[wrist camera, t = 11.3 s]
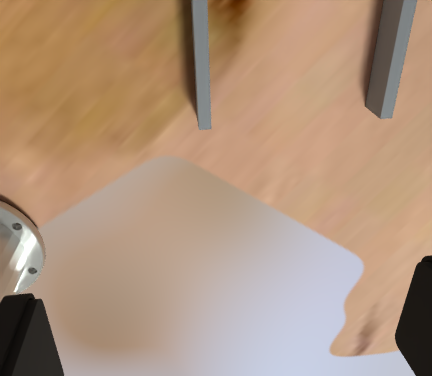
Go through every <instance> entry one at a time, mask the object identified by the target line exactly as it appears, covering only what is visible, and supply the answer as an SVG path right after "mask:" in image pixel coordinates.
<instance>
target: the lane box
mask: <svg viewBox="0 0 432 376" xmlns="http://www.w3.org/2000/svg"><path fill="white" fill-rule="evenodd" d="M416 3H417V0H384V2H383V8H382V13H381V19H380V25H379V30H378V36H377V42H376V48H375V53H374V59H373V65H372V71H371V76H370V82H369V88H368V93H367V99H366V105H365V107H366V108H368V109H369V110H370V111H371V112H373V113H374V114H375V115H376V116H377V117H379V118H380V119H386V118H392V116H393V111H394V106H395V101H396V97H397V92H398V87H399V83H400V78H401V73H402V69H403V64H404V59H405V55H406V50H407V45H408V41H409V36H410V31H411V27H412V22H413V17H414V13H415V8H416ZM191 14H192V33H193V52H194V72H195V91H196V110H197V121H198V127H199V130H206V129H211V102H210V72H209V42H208V12H207V0H191Z"/></svg>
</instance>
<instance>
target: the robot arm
mask: <svg viewBox="0 0 432 376" xmlns="http://www.w3.org/2000/svg"><path fill="white" fill-rule="evenodd" d="M45 257H46V255H45V246H44V242H43V239H42V237H41V235H40V233H39V231H38V230H37V228H36V227H35V226H34V225H33V223H32V222H31V221H30V220H29V219H28V218H27V217H26V216H25V215H23V214H22V213H21V212H20V211H18V210H17V209H15V208H13V207H12V206H10V205H8V204H7V203H4V202H2V201H0V376H64V373H63V369H62V365H61V362H60V359H59V355H58V351H57V348H56V345H55V342H54V338H53V335H52V331H51V328H50V324H49V321H48V317H47V314H46V310H45V307H44V304H43V301H42V299H35V297H34V295H33V294H32V293H29V294H19V293H21V292H23V291H24V290H26V289H28V288H29V287H30V286H31V285H32V284H33V283H34V282H35V281H36V280H37V278H38V277H39V275H40V273H41V271H42V268H43V266H44V262H45ZM16 294H18V295H16ZM395 340H396V344H397V346H398V348H399V350H400V351H401V353H402V355H403V356H404V358H405V359H406V361H407V362H408V364H409V366H410V367H411V369H412V370H413V371H414V373H415V375H416V376H432V256H425V257H424V258H423V259H422V261H421V262H419V263H418V264H417V266H416V268H415V271H414V275H413V278H412V281H411V284H410V287H409V291H408V294H407V297H406V300H405V304H404V307H403V310H402V313H401V316H400V320H399V323H398V326H397V329H396V332H395Z"/></svg>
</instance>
